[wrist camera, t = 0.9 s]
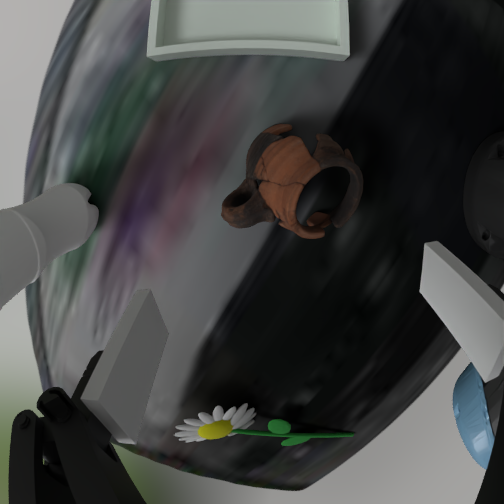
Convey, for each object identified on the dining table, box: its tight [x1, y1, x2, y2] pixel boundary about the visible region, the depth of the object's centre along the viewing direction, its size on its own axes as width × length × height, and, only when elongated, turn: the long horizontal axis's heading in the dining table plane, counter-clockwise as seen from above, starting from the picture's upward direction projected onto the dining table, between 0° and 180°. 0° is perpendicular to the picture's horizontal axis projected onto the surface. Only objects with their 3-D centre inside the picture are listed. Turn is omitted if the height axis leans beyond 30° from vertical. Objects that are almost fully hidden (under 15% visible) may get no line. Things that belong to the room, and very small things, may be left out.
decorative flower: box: [175, 403, 354, 446], centre depth 41 cm, size 13×5×30 cm
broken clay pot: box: [221, 124, 363, 239], centre depth 25 cm, size 12×10×8 cm
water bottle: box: [0, 183, 99, 310], centre depth 19 cm, size 7×7×25 cm
